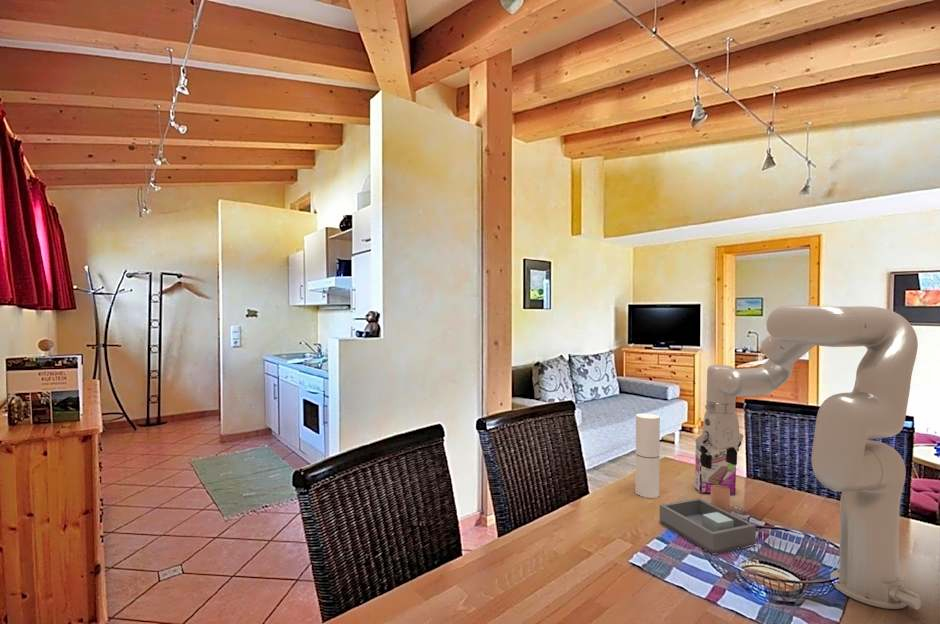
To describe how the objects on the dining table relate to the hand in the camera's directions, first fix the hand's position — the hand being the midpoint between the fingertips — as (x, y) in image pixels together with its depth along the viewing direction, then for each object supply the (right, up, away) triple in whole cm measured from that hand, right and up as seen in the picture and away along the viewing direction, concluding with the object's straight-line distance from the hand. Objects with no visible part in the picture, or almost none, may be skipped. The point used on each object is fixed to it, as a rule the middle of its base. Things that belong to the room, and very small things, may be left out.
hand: (719, 465), depth 138 cm
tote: (-11, -14, -14) cm, 22 cm away
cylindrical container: (-16, -13, +13) cm, 25 cm away
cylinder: (0, -14, 0) cm, 13 cm away
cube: (-10, -13, -18) cm, 24 cm away
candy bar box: (+6, -14, +15) cm, 21 cm away
